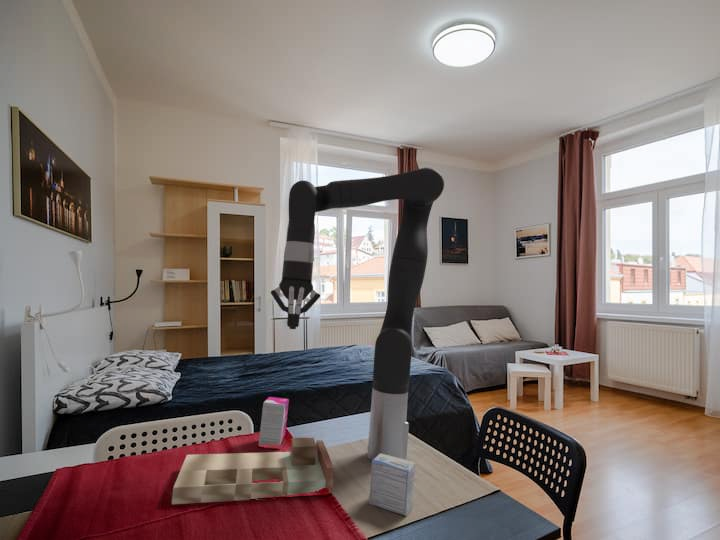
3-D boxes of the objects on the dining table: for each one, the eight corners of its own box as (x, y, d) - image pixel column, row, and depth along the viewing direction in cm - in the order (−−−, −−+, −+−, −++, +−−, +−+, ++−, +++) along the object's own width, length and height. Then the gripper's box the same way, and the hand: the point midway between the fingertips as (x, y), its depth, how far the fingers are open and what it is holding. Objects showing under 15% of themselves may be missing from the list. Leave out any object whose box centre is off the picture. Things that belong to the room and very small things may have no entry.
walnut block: (311, 455, 89) (313, 437, 89) (315, 464, 84) (316, 446, 84) (290, 455, 88) (291, 437, 88) (292, 465, 83) (293, 446, 83)
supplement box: (280, 450, 97) (284, 404, 98) (257, 447, 97) (261, 402, 98) (285, 441, 103) (289, 398, 104) (263, 439, 103) (267, 396, 104)
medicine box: (413, 506, 76) (416, 462, 77) (406, 517, 72) (409, 470, 73) (376, 494, 80) (379, 452, 80) (368, 504, 75) (371, 459, 76)
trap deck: (320, 463, 91) (322, 440, 92) (331, 495, 78) (334, 467, 78) (185, 468, 84) (188, 443, 84) (171, 504, 70) (174, 473, 70)
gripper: (321, 264, 103) (316, 328, 102) (271, 259, 100) (265, 325, 99) (326, 262, 96) (320, 332, 95) (272, 257, 92) (265, 329, 91)
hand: (292, 328), depth 97 cm, fingers closed
